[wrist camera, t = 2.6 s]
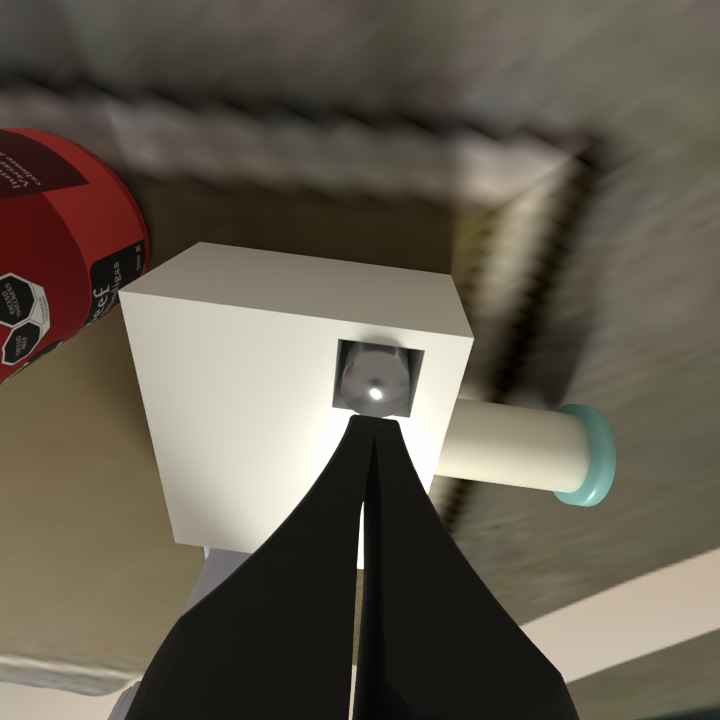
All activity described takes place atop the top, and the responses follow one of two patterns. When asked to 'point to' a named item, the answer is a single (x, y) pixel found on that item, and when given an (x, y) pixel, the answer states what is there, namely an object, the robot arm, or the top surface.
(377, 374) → the plunger
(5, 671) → the top surface
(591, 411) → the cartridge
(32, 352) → the canned food
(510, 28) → the top surface
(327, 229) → the top surface
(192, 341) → the housing
